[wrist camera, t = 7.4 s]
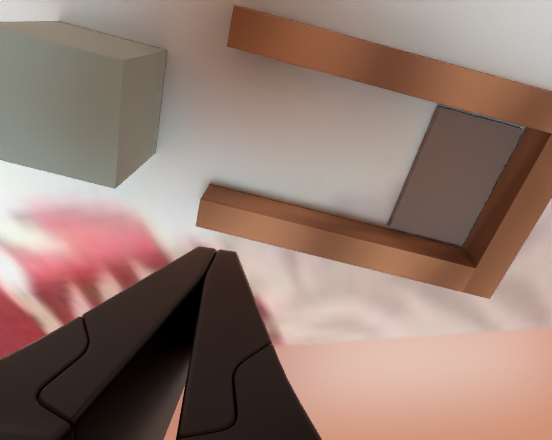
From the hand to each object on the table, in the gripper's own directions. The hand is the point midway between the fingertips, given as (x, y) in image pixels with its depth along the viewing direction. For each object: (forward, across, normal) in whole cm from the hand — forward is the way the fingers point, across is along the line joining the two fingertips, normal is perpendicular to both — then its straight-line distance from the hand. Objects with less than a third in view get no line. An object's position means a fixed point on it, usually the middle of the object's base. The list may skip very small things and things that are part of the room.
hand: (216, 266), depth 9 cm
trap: (+12, -10, +1) cm, 15 cm away
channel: (+12, -5, +1) cm, 13 cm away
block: (+12, +8, -1) cm, 14 cm away
